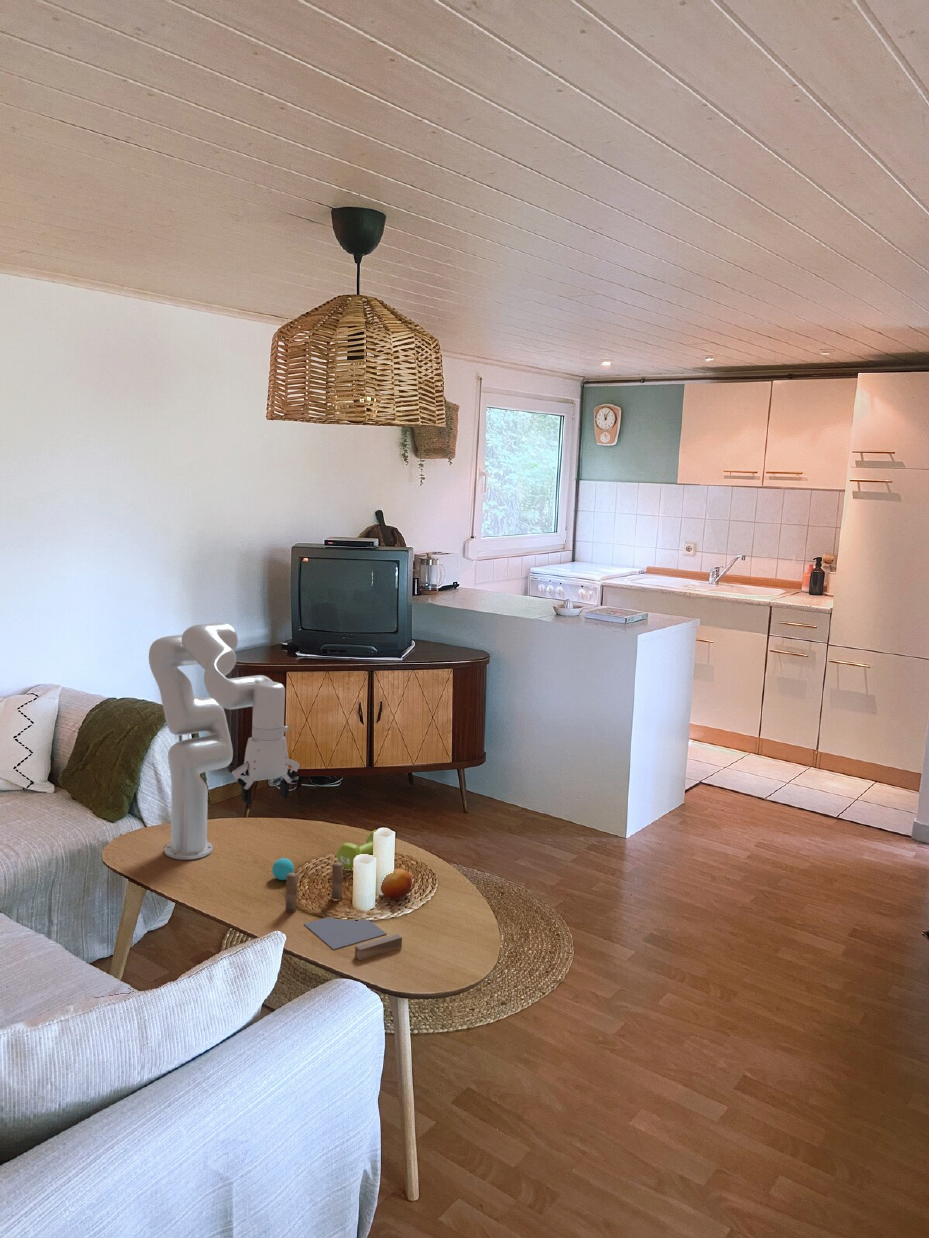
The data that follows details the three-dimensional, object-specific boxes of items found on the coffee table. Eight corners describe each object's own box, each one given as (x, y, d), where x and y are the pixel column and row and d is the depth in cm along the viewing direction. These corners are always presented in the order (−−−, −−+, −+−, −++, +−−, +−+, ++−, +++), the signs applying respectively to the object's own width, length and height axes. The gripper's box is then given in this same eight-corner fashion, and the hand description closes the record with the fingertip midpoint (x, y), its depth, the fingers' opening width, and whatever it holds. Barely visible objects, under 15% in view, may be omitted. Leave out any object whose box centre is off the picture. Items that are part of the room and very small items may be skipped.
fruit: (414, 900, 230) (399, 871, 229) (387, 912, 231) (372, 883, 231) (422, 887, 237) (408, 859, 237) (396, 898, 239) (382, 871, 239)
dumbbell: (355, 876, 245) (356, 850, 244) (332, 868, 250) (333, 842, 249) (393, 857, 259) (395, 833, 258) (371, 850, 263) (372, 826, 262)
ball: (268, 877, 241) (268, 857, 240) (287, 873, 244) (288, 853, 244) (277, 885, 237) (278, 864, 236) (297, 880, 240) (297, 860, 239)
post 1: (283, 909, 224) (284, 874, 222) (293, 907, 225) (294, 871, 224) (288, 913, 222) (289, 878, 220) (298, 911, 223) (299, 875, 222)
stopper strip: (354, 956, 203) (355, 945, 203) (396, 943, 210) (397, 933, 210) (359, 960, 202) (359, 949, 202) (401, 947, 209) (402, 937, 208)
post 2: (329, 897, 231) (330, 863, 230) (338, 895, 233) (339, 861, 232) (334, 901, 229) (336, 867, 228) (343, 899, 231) (345, 865, 230)
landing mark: (303, 924, 217) (303, 923, 217) (355, 910, 225) (355, 909, 225) (333, 949, 206) (333, 948, 206) (386, 934, 214) (386, 933, 214)
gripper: (293, 725, 233) (291, 790, 236) (227, 732, 223) (226, 800, 226) (307, 732, 227) (304, 799, 230) (240, 740, 217) (238, 810, 220)
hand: (265, 800), depth 228 cm, fingers open, 9 cm apart
